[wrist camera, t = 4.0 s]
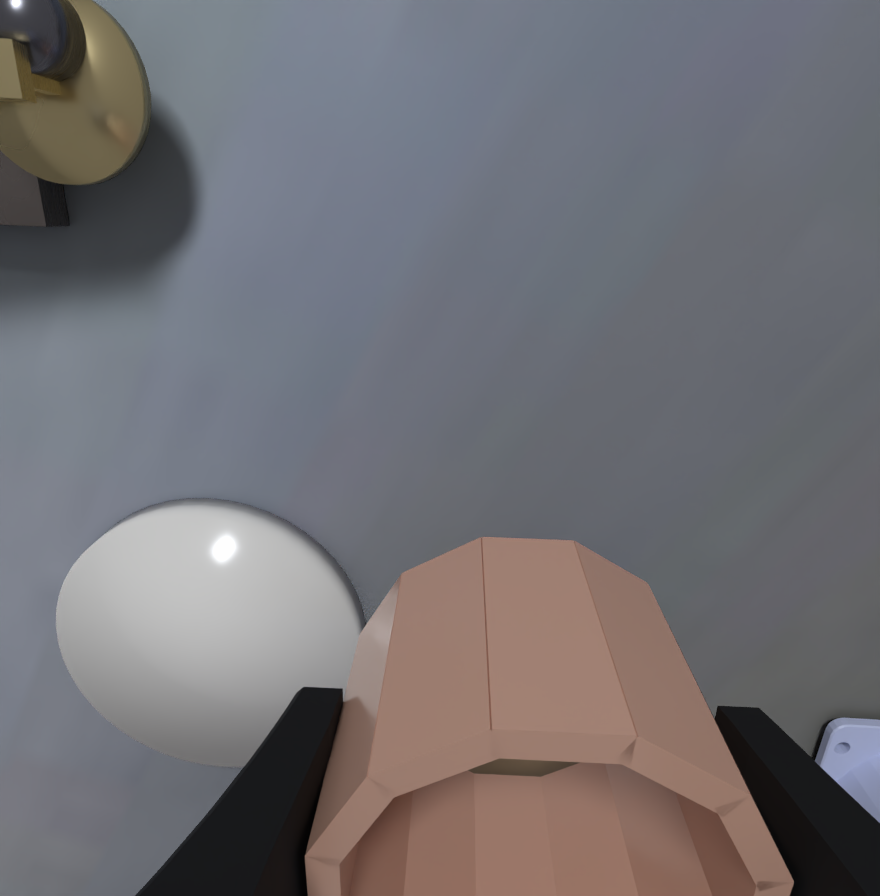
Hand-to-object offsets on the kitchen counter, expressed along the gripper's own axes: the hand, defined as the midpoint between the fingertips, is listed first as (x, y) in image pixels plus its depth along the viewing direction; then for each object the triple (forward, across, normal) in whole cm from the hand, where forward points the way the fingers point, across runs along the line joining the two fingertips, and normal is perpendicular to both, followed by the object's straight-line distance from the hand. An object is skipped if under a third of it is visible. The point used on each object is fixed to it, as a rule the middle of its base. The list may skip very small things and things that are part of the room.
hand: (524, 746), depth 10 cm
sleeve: (+2, 0, 0) cm, 2 cm away
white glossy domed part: (+10, +9, +6) cm, 15 cm away
